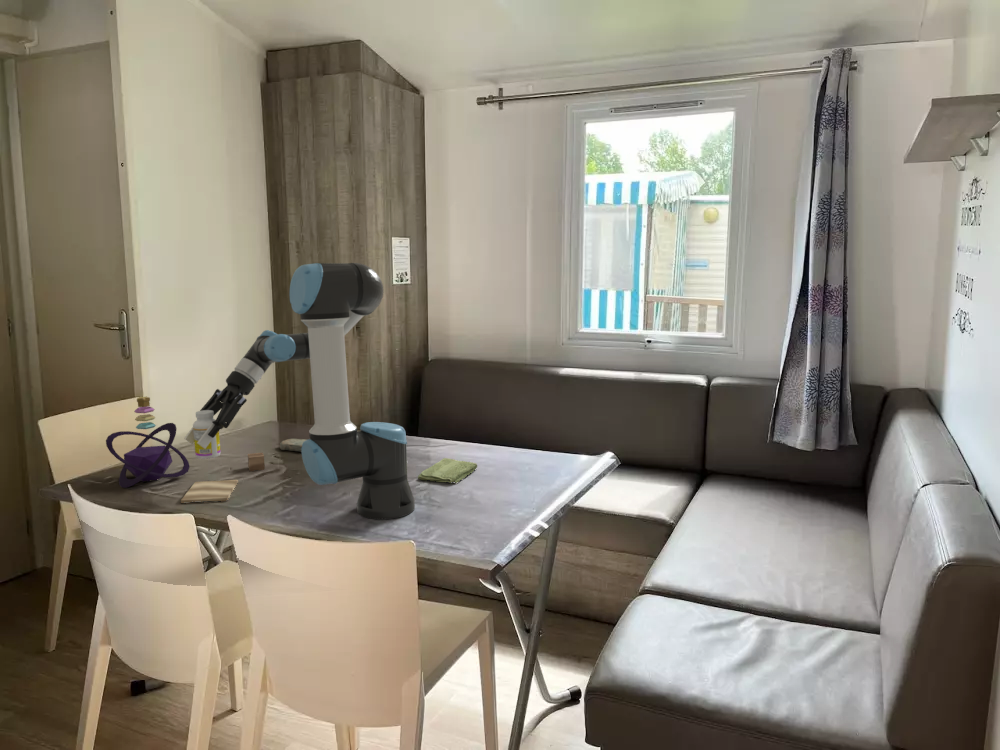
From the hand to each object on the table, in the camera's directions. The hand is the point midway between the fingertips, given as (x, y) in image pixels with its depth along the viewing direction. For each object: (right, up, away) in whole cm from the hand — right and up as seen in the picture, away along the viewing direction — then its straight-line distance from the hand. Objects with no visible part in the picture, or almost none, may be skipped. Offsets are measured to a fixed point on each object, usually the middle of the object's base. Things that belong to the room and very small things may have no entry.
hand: (194, 443), depth 204 cm
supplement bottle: (+2, -4, +4) cm, 6 cm away
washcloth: (+69, -12, +21) cm, 73 cm away
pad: (+3, -15, +5) cm, 16 cm away
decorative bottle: (-21, -13, +18) cm, 31 cm away
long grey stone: (+26, -8, +48) cm, 54 cm away
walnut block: (+8, -11, +28) cm, 31 cm away
